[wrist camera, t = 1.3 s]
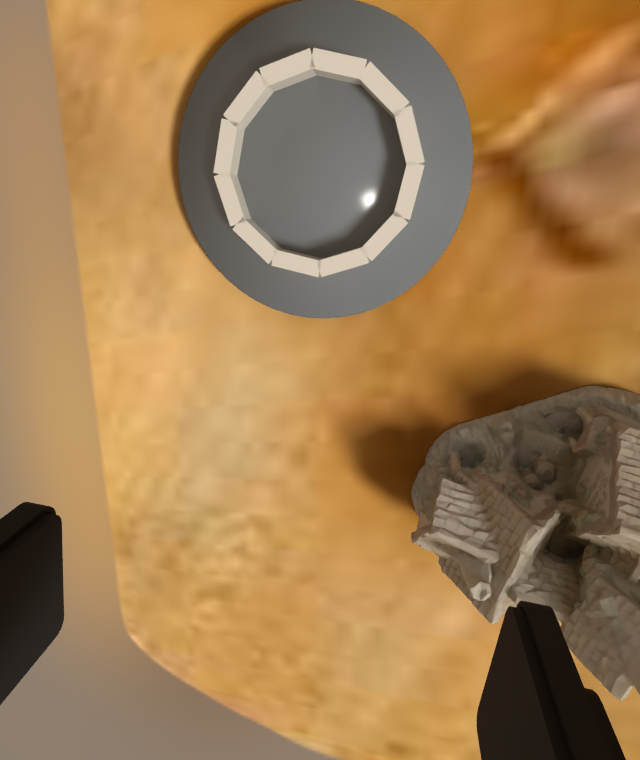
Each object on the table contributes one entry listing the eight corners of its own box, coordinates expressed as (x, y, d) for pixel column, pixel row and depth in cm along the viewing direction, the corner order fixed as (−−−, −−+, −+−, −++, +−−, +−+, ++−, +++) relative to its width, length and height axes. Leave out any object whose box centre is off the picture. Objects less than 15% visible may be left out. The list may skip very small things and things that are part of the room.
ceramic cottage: (728, 441, 34) (922, 597, 20) (565, 607, 40) (629, 816, 26) (517, 317, 35) (566, 385, 21) (387, 498, 41) (358, 646, 27)
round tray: (430, -49, 29) (432, -73, 27) (499, 272, 33) (507, 276, 31) (142, 71, 33) (122, 60, 31) (237, 345, 37) (226, 354, 35)
